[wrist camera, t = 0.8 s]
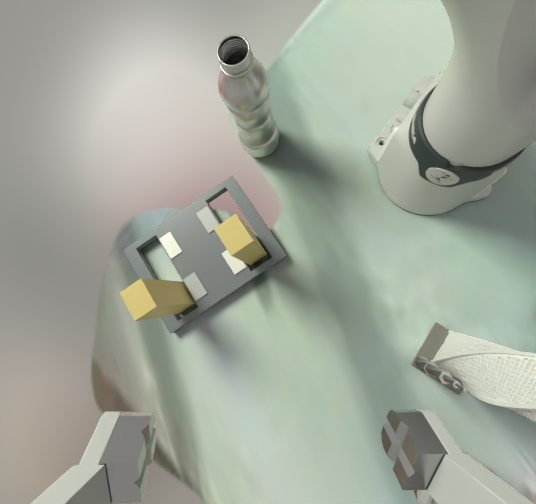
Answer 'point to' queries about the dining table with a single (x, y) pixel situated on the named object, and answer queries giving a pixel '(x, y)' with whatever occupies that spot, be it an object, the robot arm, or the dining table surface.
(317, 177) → the dining table surface
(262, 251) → the yellow rectangular block
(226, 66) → the plastic bottle
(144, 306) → the yellow bar
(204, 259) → the switch bank
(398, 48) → the dining table surface
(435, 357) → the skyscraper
